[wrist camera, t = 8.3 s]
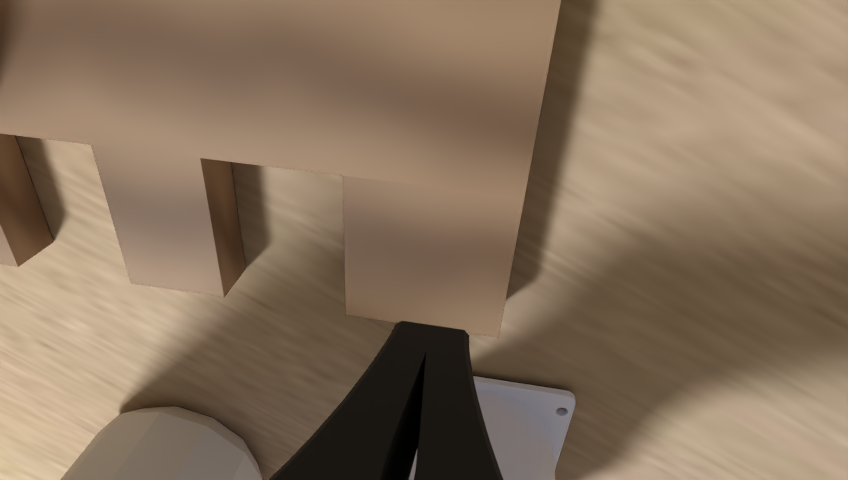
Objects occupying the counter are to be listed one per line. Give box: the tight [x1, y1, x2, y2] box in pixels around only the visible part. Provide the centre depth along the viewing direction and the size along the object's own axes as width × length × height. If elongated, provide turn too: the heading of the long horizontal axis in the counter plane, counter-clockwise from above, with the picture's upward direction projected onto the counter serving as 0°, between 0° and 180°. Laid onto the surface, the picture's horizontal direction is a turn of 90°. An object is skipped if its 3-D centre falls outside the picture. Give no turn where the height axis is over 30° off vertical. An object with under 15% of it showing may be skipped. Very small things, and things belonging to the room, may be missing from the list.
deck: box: [0, 0, 561, 338], centre depth 18 cm, size 12×24×4 cm, turn 86°
